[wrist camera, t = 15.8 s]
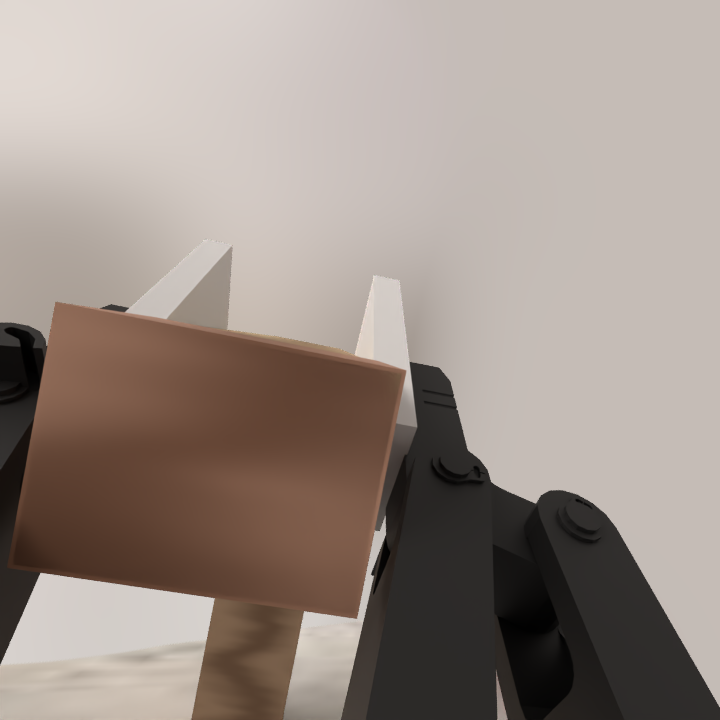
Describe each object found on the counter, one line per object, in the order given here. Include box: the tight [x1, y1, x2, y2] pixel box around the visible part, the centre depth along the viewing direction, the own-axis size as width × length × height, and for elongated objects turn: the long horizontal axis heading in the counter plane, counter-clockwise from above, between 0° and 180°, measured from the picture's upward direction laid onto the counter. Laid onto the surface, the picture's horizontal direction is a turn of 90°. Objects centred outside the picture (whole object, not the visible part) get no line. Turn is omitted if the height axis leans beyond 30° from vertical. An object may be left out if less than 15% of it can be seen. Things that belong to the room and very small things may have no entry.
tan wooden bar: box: [7, 302, 407, 619], centre depth 17 cm, size 4×24×3 cm, turn 5°
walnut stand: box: [191, 598, 304, 720], centre depth 37 cm, size 9×11×22 cm
